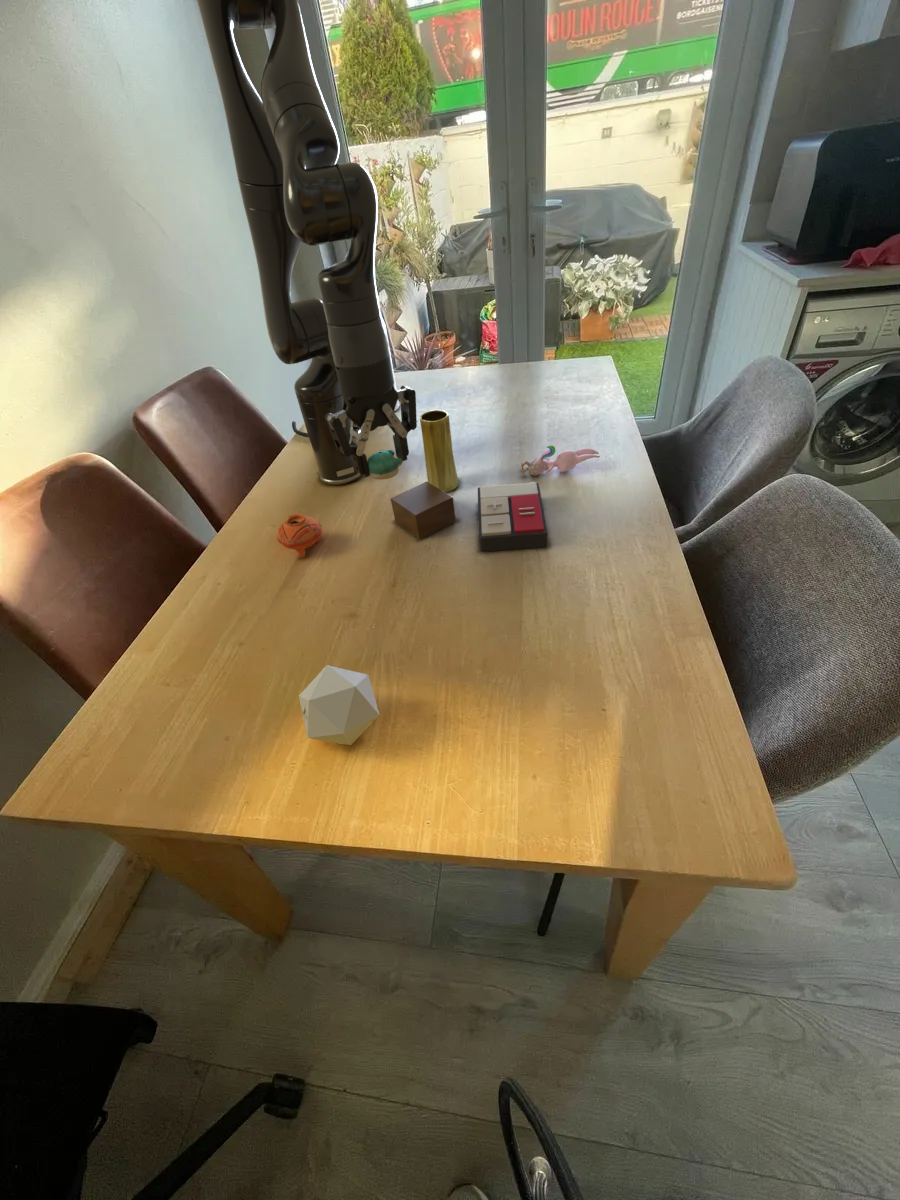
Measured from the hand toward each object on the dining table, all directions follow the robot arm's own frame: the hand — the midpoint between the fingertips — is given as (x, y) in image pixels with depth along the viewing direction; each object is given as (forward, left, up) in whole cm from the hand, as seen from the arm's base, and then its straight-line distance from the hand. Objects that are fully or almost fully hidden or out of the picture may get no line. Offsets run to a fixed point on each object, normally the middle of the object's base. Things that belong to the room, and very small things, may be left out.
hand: (383, 466), depth 85 cm
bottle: (-54, +30, -15) cm, 64 cm away
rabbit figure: (+2, +36, -15) cm, 40 cm away
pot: (-12, -13, -15) cm, 23 cm away
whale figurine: (0, 0, -1) cm, 1 cm away
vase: (-11, +17, -15) cm, 26 cm away
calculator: (+9, +17, -15) cm, 25 cm away
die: (+27, -26, -15) cm, 40 cm away
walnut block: (-3, +7, -15) cm, 17 cm away
